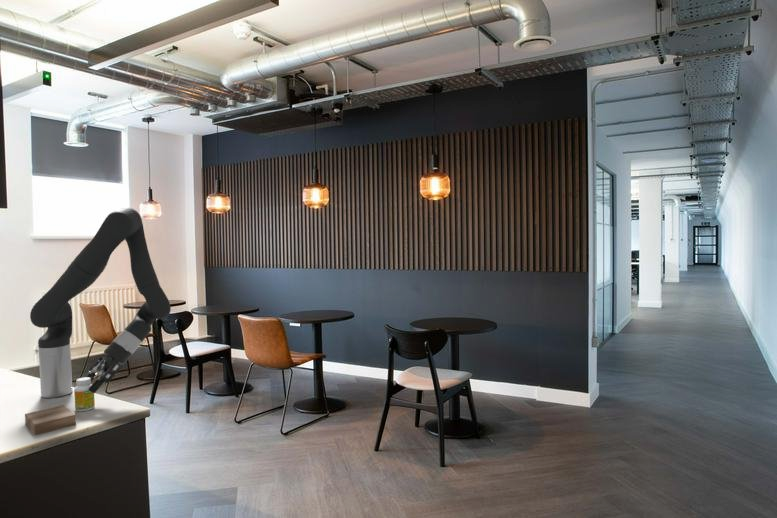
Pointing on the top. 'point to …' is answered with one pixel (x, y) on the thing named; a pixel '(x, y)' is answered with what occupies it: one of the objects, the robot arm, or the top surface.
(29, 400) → the top surface
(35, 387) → the top surface
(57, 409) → the walnut riser
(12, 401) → the top surface
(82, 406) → the supplement bottle
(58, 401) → the top surface
